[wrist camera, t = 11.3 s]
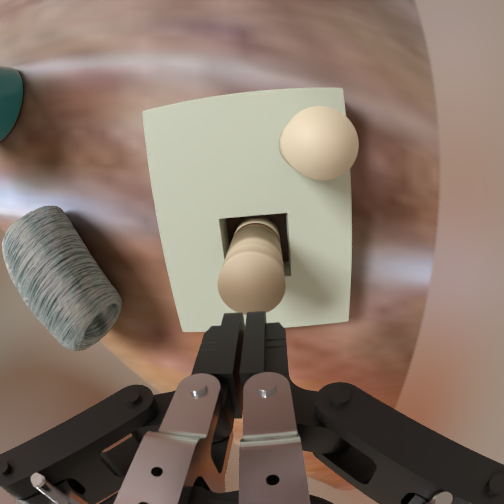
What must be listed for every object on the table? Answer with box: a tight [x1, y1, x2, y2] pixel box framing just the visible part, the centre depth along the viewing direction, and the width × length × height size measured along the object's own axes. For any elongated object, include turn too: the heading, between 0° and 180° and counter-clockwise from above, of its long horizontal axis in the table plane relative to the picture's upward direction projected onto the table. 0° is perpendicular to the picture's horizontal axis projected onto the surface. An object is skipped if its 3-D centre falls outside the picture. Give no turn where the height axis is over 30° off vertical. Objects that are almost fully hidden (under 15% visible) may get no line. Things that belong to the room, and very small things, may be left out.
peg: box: [217, 215, 286, 315], centre depth 19 cm, size 4×4×9 cm
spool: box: [2, 206, 122, 351], centre depth 22 cm, size 14×10×10 cm
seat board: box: [142, 88, 359, 332], centre depth 19 cm, size 18×14×9 cm
